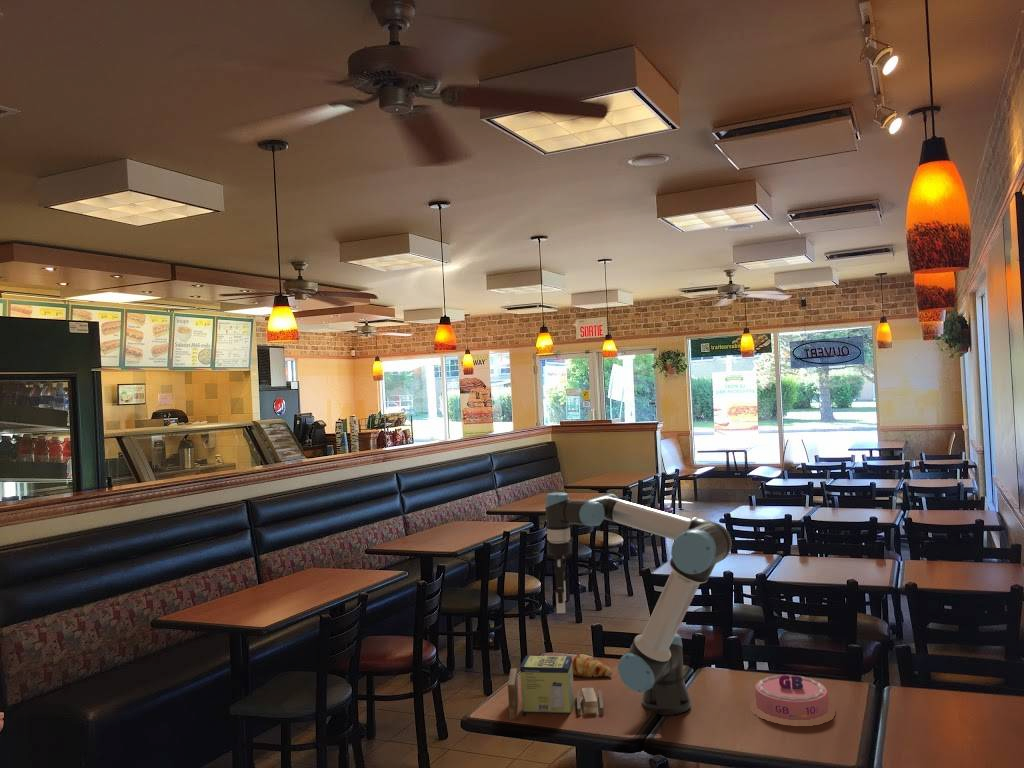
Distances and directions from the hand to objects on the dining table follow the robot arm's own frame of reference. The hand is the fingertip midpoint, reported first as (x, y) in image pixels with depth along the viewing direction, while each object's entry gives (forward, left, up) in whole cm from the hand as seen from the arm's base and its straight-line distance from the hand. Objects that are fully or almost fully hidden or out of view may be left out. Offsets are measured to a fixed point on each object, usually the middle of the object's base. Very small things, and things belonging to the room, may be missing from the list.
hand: (561, 606), depth 256 cm
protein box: (+6, +5, -31) cm, 32 cm away
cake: (-69, +10, -32) cm, 76 cm away
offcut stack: (-7, +5, -30) cm, 31 cm away
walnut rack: (+3, +5, -31) cm, 32 cm away
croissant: (-6, -26, -32) cm, 41 cm away
